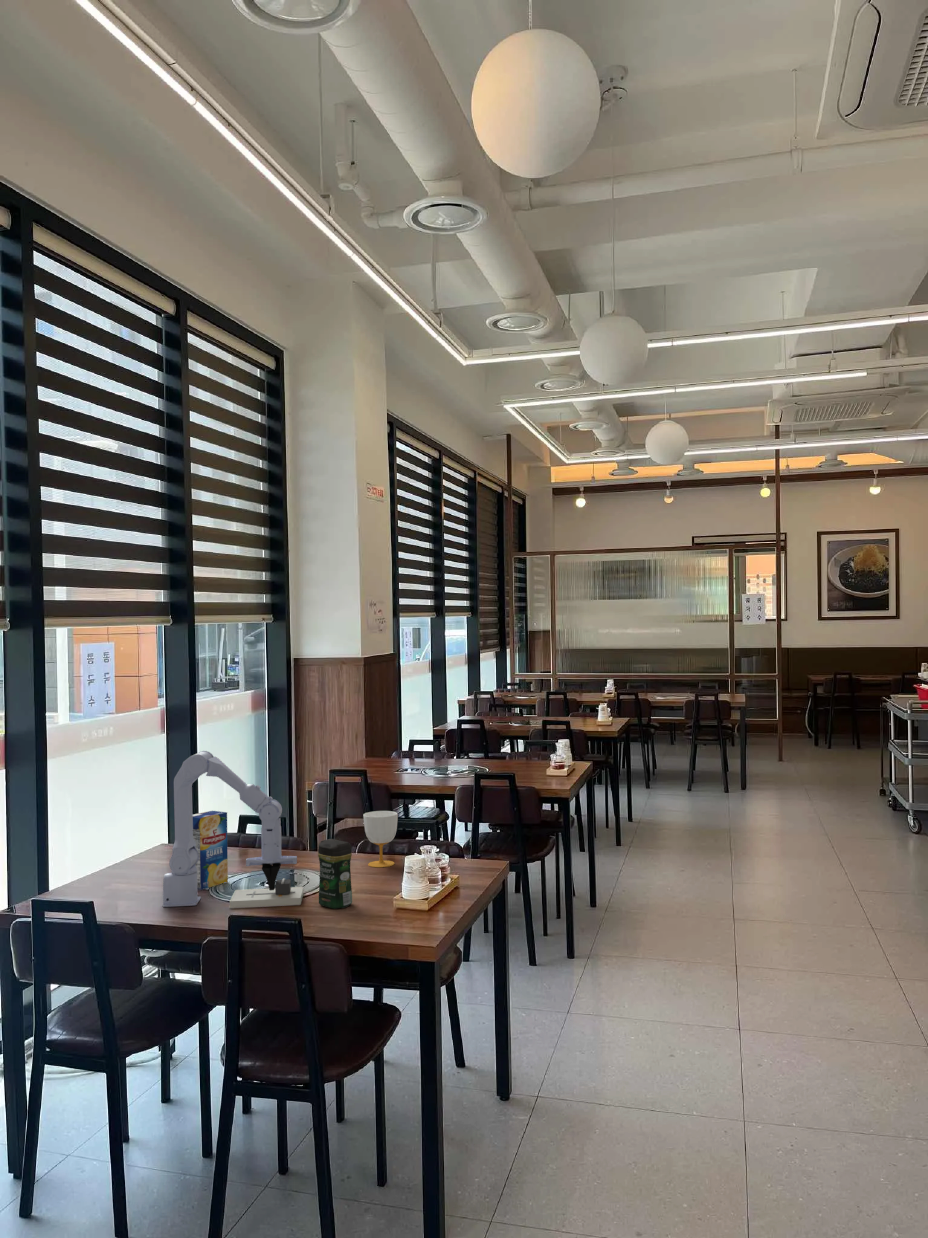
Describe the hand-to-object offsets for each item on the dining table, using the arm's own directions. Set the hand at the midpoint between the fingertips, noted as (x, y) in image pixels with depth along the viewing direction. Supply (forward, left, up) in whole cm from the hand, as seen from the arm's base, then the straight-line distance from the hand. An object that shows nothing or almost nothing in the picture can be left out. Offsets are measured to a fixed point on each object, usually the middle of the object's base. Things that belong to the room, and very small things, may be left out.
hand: (271, 889), depth 263 cm
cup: (+33, +38, -3) cm, 50 cm away
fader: (+3, 0, -1) cm, 3 cm away
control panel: (-1, 0, -3) cm, 3 cm away
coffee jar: (+19, -8, -3) cm, 21 cm away
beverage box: (-22, +22, -3) cm, 32 cm away
